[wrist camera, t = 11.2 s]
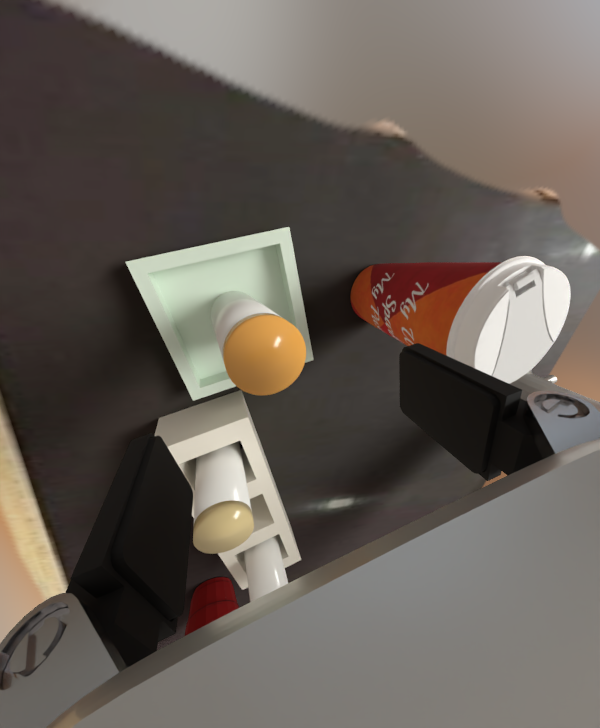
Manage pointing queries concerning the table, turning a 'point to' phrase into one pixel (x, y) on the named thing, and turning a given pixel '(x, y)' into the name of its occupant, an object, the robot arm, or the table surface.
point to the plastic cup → (211, 603)
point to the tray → (205, 284)
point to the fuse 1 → (221, 501)
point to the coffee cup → (469, 310)
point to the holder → (226, 426)
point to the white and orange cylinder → (256, 344)
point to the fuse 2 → (264, 568)
